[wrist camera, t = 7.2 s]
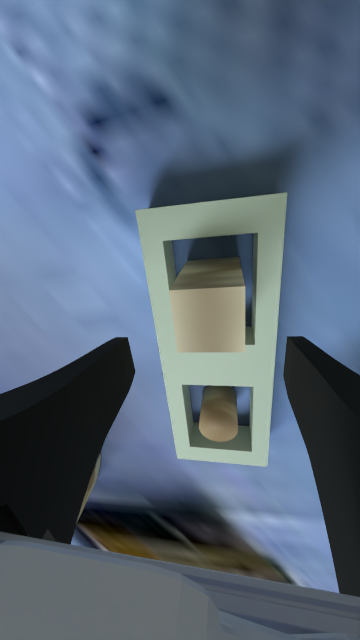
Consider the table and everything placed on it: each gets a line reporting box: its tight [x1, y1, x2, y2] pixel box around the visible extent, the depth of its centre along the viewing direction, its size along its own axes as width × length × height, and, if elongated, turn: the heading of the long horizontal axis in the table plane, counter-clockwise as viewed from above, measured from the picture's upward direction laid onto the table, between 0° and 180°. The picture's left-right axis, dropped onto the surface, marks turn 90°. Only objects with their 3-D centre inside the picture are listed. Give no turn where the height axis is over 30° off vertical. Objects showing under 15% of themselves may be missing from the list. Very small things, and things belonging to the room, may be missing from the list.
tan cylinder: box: [199, 385, 238, 442], centre depth 23 cm, size 3×3×4 cm
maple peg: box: [169, 257, 245, 353], centre depth 17 cm, size 4×4×7 cm
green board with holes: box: [135, 193, 287, 467], centre depth 21 cm, size 9×24×3 cm, turn 6°
